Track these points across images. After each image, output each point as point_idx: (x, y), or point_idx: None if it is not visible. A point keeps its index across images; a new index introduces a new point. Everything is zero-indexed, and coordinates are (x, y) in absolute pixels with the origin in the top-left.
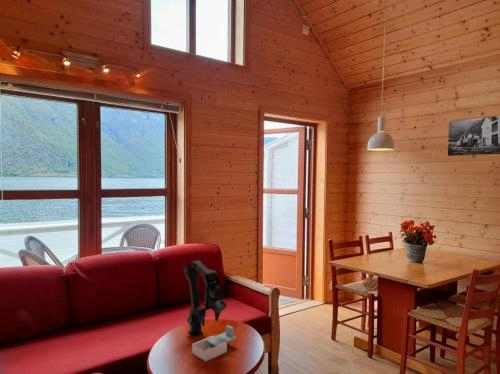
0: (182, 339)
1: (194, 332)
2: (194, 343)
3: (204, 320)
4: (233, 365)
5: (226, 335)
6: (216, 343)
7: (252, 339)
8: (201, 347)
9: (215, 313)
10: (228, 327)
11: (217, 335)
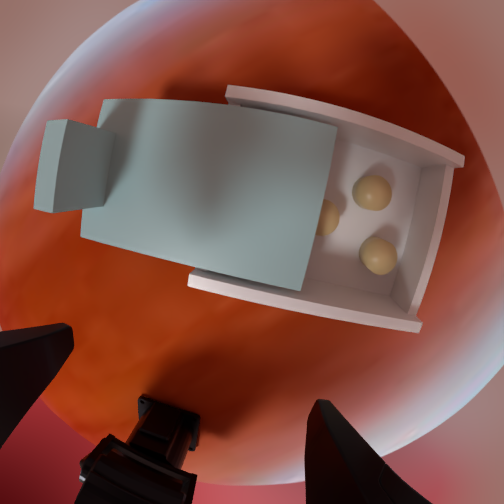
0: (266, 438)
1: (185, 429)
2: (406, 325)
3: (351, 468)
4: (346, 10)
5: (116, 184)
6: (303, 154)
7: (44, 115)
8: (332, 288)
9: (10, 410)
10: (59, 168)
11: (161, 254)
